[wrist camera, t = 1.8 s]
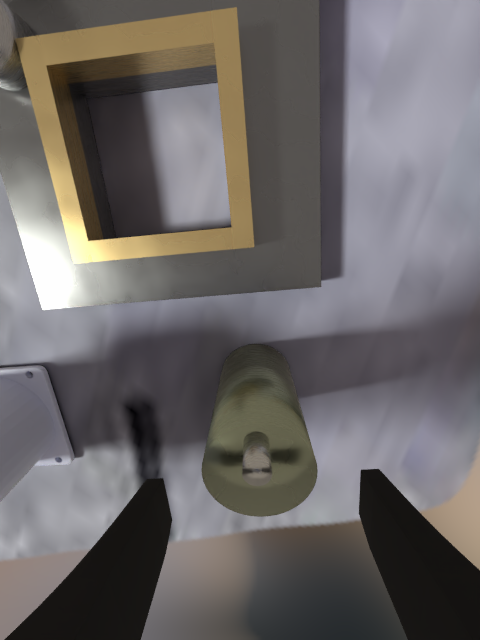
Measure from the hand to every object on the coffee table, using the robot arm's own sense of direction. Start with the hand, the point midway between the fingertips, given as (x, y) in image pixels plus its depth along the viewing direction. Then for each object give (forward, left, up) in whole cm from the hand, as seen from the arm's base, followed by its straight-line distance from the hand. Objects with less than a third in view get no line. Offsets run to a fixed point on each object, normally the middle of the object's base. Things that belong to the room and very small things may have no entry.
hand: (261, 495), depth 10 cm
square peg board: (-4, +13, -9) cm, 16 cm away
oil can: (0, 0, -9) cm, 9 cm away
